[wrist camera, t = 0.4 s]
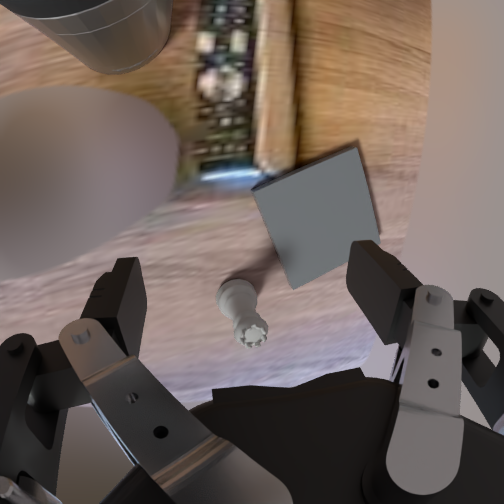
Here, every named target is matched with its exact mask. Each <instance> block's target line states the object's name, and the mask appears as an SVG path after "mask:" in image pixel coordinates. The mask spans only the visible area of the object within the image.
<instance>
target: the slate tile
mask: <svg viewBox="0 0 504 504" xmlns="http://www.w3.org/2000/svg"><path fill="white" fill-rule="evenodd" d="M251 192H252V194H253V196H254V199H255V201H256V204H257V206H258V209H259V211H260V213H261V216H262V218H263V221H264V223H265V226H266V228H267V230H268V233H269V235H270V238H271V240H272V243H273V245H274V248H275V250H276V253H277V255H278V258H279V260H280V262H281V265H282V267H283V270H284V272H285V275H286V277H287V280H288V282H289V285H290V286H291V288H292V289H293V290H294V289H296V288H298V287H300V286H302V285H304V284H306V283H308V282H310V281H312V280H314V279H316V278H317V277H319V276H321V275H323V274H325V273H327V272H329V271H331V270H333V269H334V268H336V267H338V266H340V265H342V264H344V263H346V262H347V261H349V254H350V247H351V244H352V242H353V241H359V240H373V241H374V242H375V243H376V244H377V245H378V244H380V238H379V233H378V228H377V224H376V219H375V215H374V211H373V206H372V202H371V198H370V194H369V190H368V186H367V182H366V178H365V175H364V171H363V167H362V164H361V160H360V157H359V153H358V150H357V147H348V148H346V149H344V150H341V151H339V152H336V153H334V154H332V155H329V156H327V157H324V158H322V159H320V160H317V161H315V162H313V163H310V164H308V165H306V166H303V167H301V168H299V169H296V170H294V171H292V172H290V173H287V174H285V175H283V176H281V177H278V178H276V179H274V180H272V181H269V182H267V183H265V184H263V185H261V186H258V187H256V188H254V189H252V190H251Z"/></svg>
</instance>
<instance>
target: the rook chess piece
mask: <svg viewBox="0 0 504 504" xmlns="http://www.w3.org/2000/svg"><path fill="white" fill-rule="evenodd" d="M216 303H217V305H218V307H219V309H220V311H221V313H222V314H223V315H225V316H226V317H228V318H230V319H232V321H233V328H234V338H235V339H236V341H237V342H238V343H240V344H241V345H245V346H246V348H249V349H251V347H252V345H255V346H256V348H257V347H259V346H261V344H260V342H261V341H263V342H265V341H266V339H267V337H266V335H267V333H268V325H267V323H266V321H264V320H263V319H262V318H261V317H260V315H259V314H258V313H257V312H256V310H255V309H256V306H257V294H256V291H255V289H254V287H253V285H252V284H250V283H249V282H248V281H245V280H242V279H235V280H231V281H228V282H226V283H224V284H223V285H222V286H221V287H220V289H219V290H218V293H217V295H216Z"/></svg>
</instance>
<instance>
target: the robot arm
mask: <svg viewBox="0 0 504 504" xmlns="http://www.w3.org/2000/svg"><path fill="white" fill-rule="evenodd" d="M0 4H1V5H3V6H4V7H6V8H7V9H9V10H10V11H11V12H13V13H14V14H16V15H17V16H19V17H20V18H22V19H23V20H24V21H26V22H27V23H29V24H30V25H32V26H33V27H35V28H36V29H38V30H39V31H40V32H42V33H43V34H45V35H46V36H47V37H49V38H50V39H52V40H53V41H54V42H56V43H57V44H58V45H60V46H61V47H63V48H64V49H65V50H67V51H68V52H69V53H71V54H72V55H73V56H75V57H76V58H77V59H78V60H80V61H81V62H83V63H84V64H85V65H87V66H88V67H89V68H91V69H93V70H95V71H97V72H100V73H104V74H123V73H129V72H131V71H134V70H137V69H139V68H141V67H142V66H144V65H146V64H148V63H149V62H150V61H151V60H152V59H154V58H155V57H156V56H157V55H158V54H159V52H160V51H161V50H162V49H163V47H164V45H165V43H166V42H167V40H168V36H169V33H170V27H171V16H172V7H173V0H0ZM346 284H347V288H348V291H349V292H350V294H351V295H352V297H353V298H354V300H355V301H356V303H357V304H358V306H359V307H360V309H361V310H362V311H363V313H364V314H365V316H366V317H367V319H368V320H369V322H370V323H371V325H372V326H373V328H374V329H375V331H376V333H377V334H378V336H379V337H380V339H381V340H382V342H383V343H384V345H388V344H392V343H398V344H399V346H398V349H397V351H396V355H395V359H394V363H393V367H392V371H391V375H390V379H389V380H385V379H380V378H372V377H365V376H364V374H363V372H362V370H361V368H360V367H359V368H354V369H349V370H344V371H339V372H334V373H329V374H325V375H323V376H321V377H318V378H316V379H313V380H311V381H308V382H306V383H303V384H301V385H298V386H296V387H291V388H284V387H267V386H253V385H249V386H240V387H230V388H219V389H212V396H213V400H211V401H208V402H205V403H203V404H201V405H198V406H196V407H194V408H192V409H190V410H189V411H188V410H187V409H186V408H185V407H184V406H183V405H182V404H181V403H180V402H179V401H178V400H177V399H176V398H175V397H174V396H173V395H172V394H171V393H170V392H169V391H168V390H167V389H166V388H165V387H164V386H163V385H162V384H161V383H160V382H159V381H158V380H157V379H156V378H155V377H154V376H153V375H152V373H151V372H150V371H149V370H148V369H147V368H146V367H145V366H144V365H143V364H142V363H141V362H140V360H139V359H138V357H139V351H140V345H141V339H142V333H143V327H144V322H145V316H146V311H147V297H146V291H145V286H144V281H143V277H142V272H141V266H140V262H139V259H138V257H128V258H118V259H117V261H116V263H115V265H114V268H113V270H112V272H105V273H104V274H103V275H102V276H101V277H100V278H99V279H98V280H97V281H96V283H95V285H94V287H93V291H92V292H91V294H90V298H88V301H87V303H86V305H85V307H84V310H83V312H82V314H81V317H80V319H78V320H75V321H73V322H71V323H69V324H68V325H66V326H65V327H64V328H63V329H62V330H61V332H60V334H59V340H56V341H53V342H49V343H45V344H41V345H37V344H36V342H35V340H34V338H33V337H32V336H31V335H29V334H26V333H20V334H16V335H13V336H11V337H9V338H8V339H6V340H5V341H4V342H3V343H2V344H1V345H0V504H63V503H62V502H61V501H60V500H59V499H57V498H56V487H57V478H58V469H59V461H60V454H61V447H62V441H63V435H64V429H65V423H66V418H67V412H68V408H70V407H75V406H79V405H83V404H87V403H91V405H92V406H93V408H94V409H95V411H96V412H97V414H98V415H99V417H100V418H101V420H102V421H103V423H104V424H105V426H106V427H107V429H108V430H109V432H110V433H111V435H112V436H113V437H114V439H115V440H116V442H117V443H118V444H119V446H120V447H121V449H122V450H123V451H124V453H125V454H126V456H127V457H128V458H129V459H130V461H131V462H132V463H133V465H134V467H133V468H132V469H131V470H130V471H129V472H128V474H127V475H126V476H125V477H124V478H123V479H122V480H121V481H120V482H119V483H118V484H117V485H116V486H115V487H114V488H113V489H112V491H110V493H109V494H108V495H107V496H106V497H105V498H104V499H103V500H102V501H101V502H100V503H99V504H504V302H503V301H502V300H501V299H500V298H499V297H498V296H497V295H496V294H494V293H493V292H491V291H489V290H486V289H481V288H476V289H473V290H472V291H471V293H470V295H469V298H468V301H458V300H453V298H452V296H451V295H450V294H449V293H448V292H447V291H446V290H444V289H442V288H440V287H438V286H434V285H423V284H422V283H421V282H420V281H419V280H418V279H417V278H416V277H415V276H414V275H413V274H412V273H411V272H410V271H409V270H407V268H406V267H405V266H404V265H402V264H401V262H400V261H399V260H398V259H397V258H396V257H395V256H393V255H391V254H389V253H387V252H385V251H383V250H382V249H381V248H380V247H379V246H378V245H377V244H376V243H375V242H374V241H373V240H359V241H353V242H352V244H351V247H350V254H349V261H348V268H347V274H346ZM488 337H489V338H490V339H491V340H492V341H493V343H494V344H495V345H496V346H497V348H498V349H499V352H500V361H499V363H498V365H497V367H495V366H494V364H493V363H492V362H491V360H490V359H489V358H488V357H487V355H486V354H485V353H484V351H483V350H482V349H483V347H484V345H485V343H486V341H487V339H488ZM461 380H462V382H463V383H464V385H465V386H466V387H467V389H468V391H469V393H470V394H471V396H472V397H473V399H474V401H475V402H476V404H477V405H478V407H479V409H480V410H481V412H482V414H483V415H484V417H485V419H486V420H487V422H488V424H489V425H490V427H491V429H492V430H491V429H489V428H487V427H485V426H482V425H480V424H478V423H476V422H474V421H472V420H470V419H468V418H466V417H464V416H462V415H460V399H461Z"/></svg>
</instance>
